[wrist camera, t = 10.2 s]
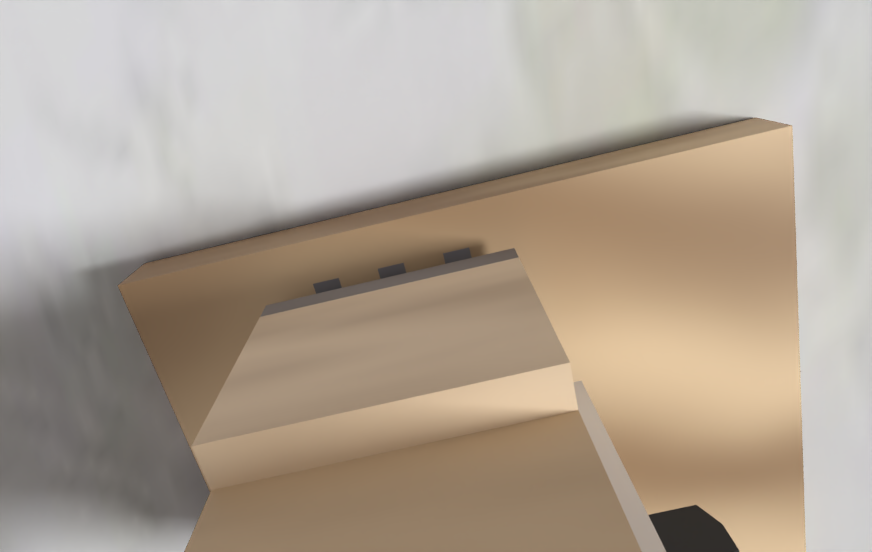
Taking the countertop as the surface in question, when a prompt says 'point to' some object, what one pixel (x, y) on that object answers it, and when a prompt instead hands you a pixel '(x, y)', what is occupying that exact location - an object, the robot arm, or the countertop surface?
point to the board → (573, 306)
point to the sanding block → (406, 425)
